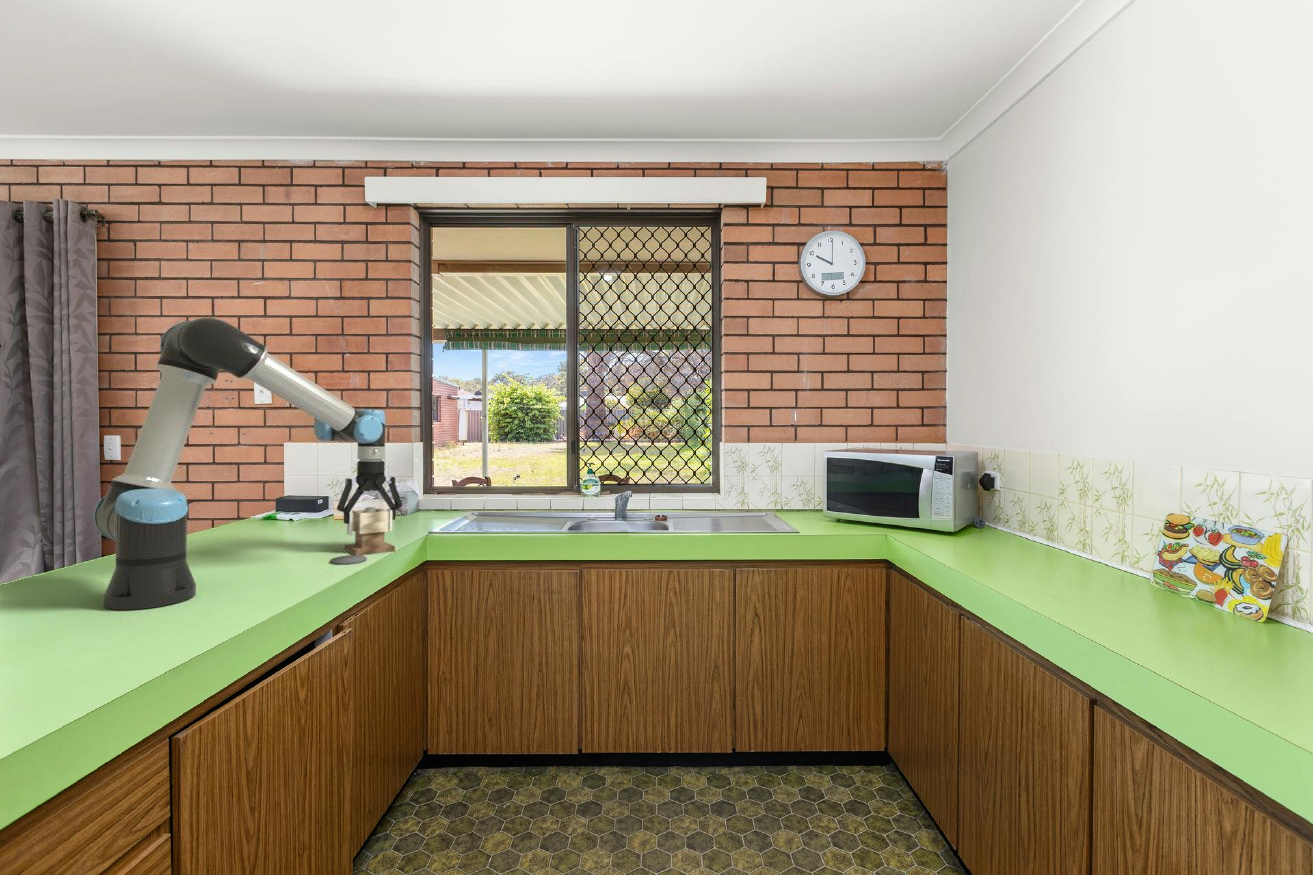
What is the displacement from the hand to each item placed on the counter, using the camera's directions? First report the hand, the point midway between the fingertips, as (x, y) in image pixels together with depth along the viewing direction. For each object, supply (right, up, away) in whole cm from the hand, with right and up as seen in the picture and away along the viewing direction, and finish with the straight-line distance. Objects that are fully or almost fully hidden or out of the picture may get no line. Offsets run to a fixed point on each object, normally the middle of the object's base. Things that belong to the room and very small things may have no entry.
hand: (369, 532), depth 182 cm
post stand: (0, -5, 0) cm, 5 cm away
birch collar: (0, +1, 0) cm, 1 cm away
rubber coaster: (+1, -6, -14) cm, 15 cm away
